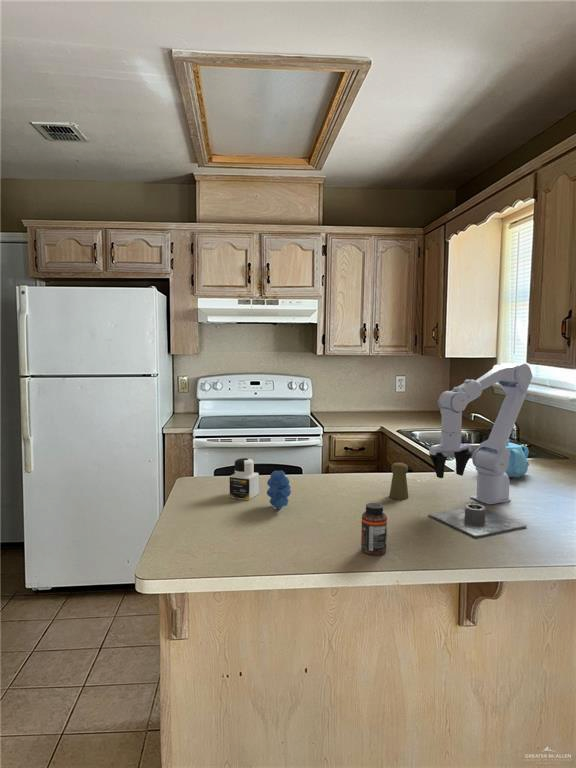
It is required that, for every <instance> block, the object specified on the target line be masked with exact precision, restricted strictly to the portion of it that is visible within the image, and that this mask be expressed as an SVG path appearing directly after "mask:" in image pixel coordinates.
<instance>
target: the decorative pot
mask: <svg viewBox="0 0 576 768" xmlns="http://www.w3.org/2000/svg"><path fill="white" fill-rule="evenodd" d="M506 448H507V449H508V451H509V452H510V457H509V464H508V468H507V470H506V471H505V473H506V474H507V475H508V477H509V478H514V479H520V478H521V477H523V476H525V475H526V474H527V472H528V467H529V466H530V462H529V461H528V460H527V459H528V456H529V453H530V451H529V448H528V447H527V446H526V445H523V444H517V443H514V442H511V441H510V439H508V441H507V444H506ZM523 449H524V450H523Z"/></svg>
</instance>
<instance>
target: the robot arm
mask: <svg viewBox="0 0 576 768" xmlns="http://www.w3.org/2000/svg"><path fill="white" fill-rule="evenodd" d="M532 379H533V373H532V370H531V367H530V365H528V364H527V363H511V362H510V363H509V362H504V361H503V362H499V363H497V364H495V365H493V366H492V369H490V370H488V372H486V373H485V374H483V375H481V376H480V377H479V378H477V379H476V380H475V379H468V378H467V379H465V380H464V382H463V383H462V384H460V385H458V386H454V387H453V389H452V390H446V391H443V392H442V393H441V394H440V395H439V398H438V399H437V406H438V407H439V408H440V409H439V410H440V411H439V412H440V415H441V425H440V429H441V431H440V443H439V444H438V445H434V446H430V447H428V448H429V451H428V452H429V455H428V456H429V458H430V460H431V462H432V464H433V467H434V471H435V475H436V478H438V479H444V476H445V475H444V474H445V466H446V462H447V459H448V457H447V456H445V455H444V454H449V453H453V454H454V458H455V473H456V475H458V476H461V477H462V476H464V473H465V469H466V466H467V464H468V463H469V460H470V458H471V457H472V458H471V459H472V461H471V462H472V464H473V466H474V467H475V471H477V474H476V494H475V495H470V498H471V499H473V500H476V501H478V502H481V503H483V504H486V505H494V504H500V503H506V502H511V501H512V499H511V498H510V482H511V481H510V477H508V475H507V474H506V473H505V471H506V470H507V468H508V464H509V457H510V452H509V451H508V449H507V448H506V444H507V441H508V439H509V438H510V436H511V434H512V431H513V428H514V426H515V424H516V421H517V419H518V416H519V414H520V411H521V409H522V406H523V403H524V401H525V399H526V396H527V392H528V389H529V387H530V385H531V381H532ZM496 383H498V385H499V386H500V388H501V389H502V391H504V392H505V397H504V399H503V401H502V404H501V407H500V409H499V411H498V415H497V417H496V419H495V421H494V423H493V426H492V428H491V432H490V433H489V435H488V439H486V440H484V441H483V442H480V443H479V445H478V447H477V449H475V450H474V452H472V446H473V445H472V444H470V443H462V424H463V422H462V419H463V417H462V416H463V411H465V409H466V408H467V405H468V404H469V403H471V402H472V401H474V400H476V399H477V398H479V397H480V396H482V393H483V391H484V390H486V389H487V388H489V387H491V386H493V385H495V384H496ZM509 440H510V439H509Z"/></svg>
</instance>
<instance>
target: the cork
mask: <svg viewBox="0 0 576 768" xmlns="http://www.w3.org/2000/svg"><path fill="white" fill-rule="evenodd" d="M390 468H391V469H390V470H391V473H392V477H391V484H390V490H389V496H388V497H389V498H390V499H392V498H393V499H392V500H396V499H397V500H398V501H404V499H406V500H408V499H409V498H408V497H410V496H409V490H408V489H409V488H408V481H407V473H408V470H409V467H408V464H406V463H403V462H395V463H393V464H392V465H391V467H390Z"/></svg>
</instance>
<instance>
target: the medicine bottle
mask: <svg viewBox="0 0 576 768" xmlns="http://www.w3.org/2000/svg"><path fill="white" fill-rule="evenodd" d="M254 463H255V462H254V460H253V459H251V458H248V457H247V458H246V457H245V458H244V457H243V458H238V459H236V460H235V461H234V473H233V474H231V475H229V498H230V497H232V498H231V499H236V498H238V500H244V499H246V500H245V501H250V500H252V499H253V498H255V497H256V496H258V495H259V494H260V490H259V489H260V485H259V484H260V483H259V482H260V481H259V478H260V477H259V476H260V474H259V472H254V470H255V469H254V467H255V465H254ZM257 494H258V495H257ZM254 496H255V497H254ZM251 498H252V499H251Z"/></svg>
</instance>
